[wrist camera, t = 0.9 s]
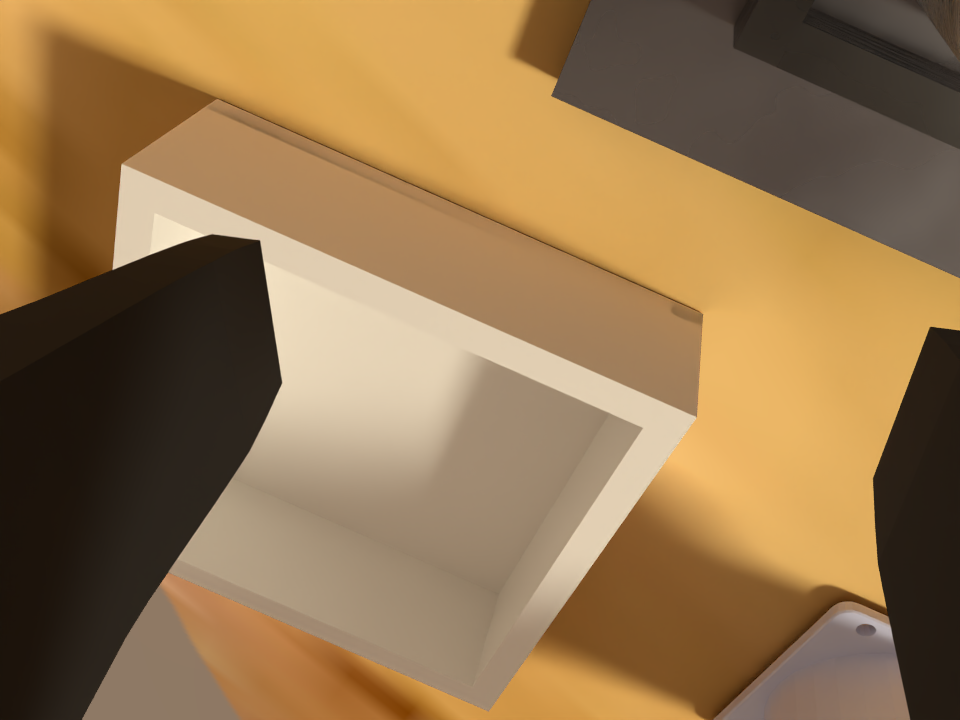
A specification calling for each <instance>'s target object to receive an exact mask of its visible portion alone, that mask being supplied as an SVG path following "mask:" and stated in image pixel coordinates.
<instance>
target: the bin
mask: <svg viewBox="0 0 960 720" xmlns="http://www.w3.org/2000/svg"><path fill="white" fill-rule="evenodd" d="M211 234H215V235H223V236H231V237H238V238H246V239H254V240H260V242H261V249H262V255H263V262H264V268H265V274H266V281H267V287H268V294H269V300H270V307H271V313H272V320H273V326H274V332H275V339H276V345H277V352H278V358H279V365H280V371H281V377H282V385H281V387H280V389H279V392H278V394H277V396H276V398H275V400H274V402H273V405H272V407H271V409H270V411H269V413H268V416H267V418H266V420H265V422H264V424H263V426H262V428H261V430H260V432H259V434H258V436H257V438H256V440H255V442H254V444H253V446H252V448H251V450H250V452H249V453H248V455H247V456H246V458H245V459H244V461H243V462H242V464H241V466H240V467H239V469H238V470H237V472H236V473H235V475H234V476H233V478H232V479H231V481H230V482H229V484H228V485H227V487H226V488H225V490H224V491H223V493H222V494H221V496H220V497H219V499H218V500H217V502H216V503H215V505H214V506H213V507H212V509H211V510H210V512H209V513H208V515H207V516H206V518H205V519H204V521H203V522H202V524H201V525H200V526H199V528H198V529H197V531H196V532H195V534H194V535H193V537H192V538H191V540H190V541H189V542H188V544H187V545H186V547H185V548H184V550H183V551H182V553H181V554H180V556H179V557H178V559H177V560H176V561H175V563H174V564H173V566H172V567H171V569H170V570H169V572H168V573H171V574H173V575H175V576H178V577H180V578H182V579H184V580H187V581H189V582H191V583H194V584H196V585H198V586H201V587H203V588H205V589H208V590H210V591H212V592H214V593H217V594H219V595H221V596H224V597H226V598H228V599H231V600H233V601H235V602H238V603H240V604H242V605H244V606H247V607H249V608H251V609H254V610H256V611H258V612H261V613H263V614H265V615H267V616H270V617H272V618H274V619H277V620H279V621H281V622H284V623H286V624H288V625H291V626H293V627H295V628H297V629H300V630H302V631H304V632H307V633H309V634H311V635H314V636H316V637H318V638H321V639H323V640H325V641H327V642H330V643H332V644H334V645H337V646H339V647H341V648H344V649H346V650H348V651H351V652H353V653H355V654H357V655H360V656H362V657H364V658H367V659H369V660H371V661H374V662H376V663H378V664H380V665H383V666H385V667H387V668H390V669H392V670H394V671H397V672H399V673H401V674H404V675H406V676H408V677H410V678H413V679H415V680H417V681H420V682H422V683H424V684H427V685H429V686H431V687H434V688H436V689H438V690H440V691H443V692H445V693H447V694H450V695H452V696H454V697H457V698H459V699H461V700H464V701H466V702H468V703H470V704H473V705H475V706H477V707H480V708H482V709H484V710H487V711H489V710H490V709H491V708H492V706H493V705H494V703H495V702H496V701H497V699H498V698H499V696H500V695H501V693H502V692H503V691H504V689H505V688H506V686H507V685H508V684H509V682H510V681H511V679H512V678H513V676H514V675H515V674H516V672H517V671H518V669H519V668H520V667H521V665H522V664H523V662H524V661H525V660H526V658H527V657H528V655H529V654H530V652H531V651H532V650H533V648H534V647H535V645H536V644H537V643H538V641H539V640H540V638H541V637H542V635H543V634H544V633H545V631H546V630H547V628H548V627H549V626H550V624H551V623H552V621H553V620H554V618H555V617H556V616H557V614H558V613H559V611H560V610H561V609H562V607H563V606H564V604H565V603H566V602H567V600H568V599H569V597H570V596H571V594H572V593H573V592H574V590H575V589H576V587H577V586H578V585H579V583H580V582H581V580H582V579H583V577H584V576H585V575H586V573H587V572H588V570H589V569H590V568H591V566H592V565H593V563H594V562H595V561H596V559H597V558H598V556H599V555H600V553H601V552H602V551H603V549H604V548H605V546H606V545H607V544H608V542H609V541H610V539H611V538H612V536H613V535H614V534H615V532H616V531H617V529H618V528H619V527H620V525H621V524H622V522H623V521H624V520H625V518H626V517H627V515H628V514H629V512H630V511H631V510H632V508H633V507H634V505H635V504H636V503H637V501H638V500H639V498H640V497H641V495H642V494H643V493H644V491H645V490H646V488H647V487H648V486H649V484H650V483H651V481H652V480H653V479H654V477H655V476H656V474H657V473H658V471H659V470H660V469H661V467H662V466H663V464H664V463H665V462H666V460H667V459H668V457H669V456H670V454H671V453H672V452H673V450H674V449H675V447H676V446H677V445H678V443H679V442H680V440H681V439H682V437H683V436H684V435H685V433H686V432H687V430H688V429H689V428H690V426H691V425H692V423H693V422H694V421H695V419H696V418H697V405H698V388H699V372H700V355H701V338H702V321H703V314H702V313H700V312H698V311H695V310H693V309H691V308H689V307H686V306H684V305H682V304H680V303H677V302H675V301H673V300H671V299H668V298H666V297H664V296H662V295H659V294H657V293H655V292H653V291H650V290H648V289H646V288H644V287H641V286H639V285H637V284H634V283H632V282H630V281H628V280H625V279H623V278H621V277H619V276H616V275H614V274H612V273H610V272H607V271H605V270H603V269H601V268H598V267H596V266H594V265H592V264H589V263H587V262H585V261H583V260H580V259H578V258H576V257H574V256H571V255H569V254H567V253H564V252H562V251H560V250H558V249H555V248H553V247H551V246H549V245H546V244H544V243H542V242H540V241H537V240H535V239H533V238H531V237H528V236H526V235H524V234H522V233H519V232H517V231H515V230H513V229H510V228H508V227H506V226H504V225H501V224H499V223H497V222H494V221H492V220H490V219H488V218H485V217H483V216H481V215H479V214H476V213H474V212H472V211H470V210H467V209H465V208H463V207H461V206H458V205H456V204H454V203H452V202H449V201H447V200H445V199H443V198H440V197H438V196H436V195H434V194H431V193H429V192H427V191H424V190H422V189H420V188H418V187H415V186H413V185H411V184H409V183H406V182H404V181H402V180H400V179H397V178H395V177H393V176H391V175H388V174H386V173H384V172H382V171H379V170H377V169H375V168H373V167H370V166H368V165H366V164H364V163H361V162H359V161H357V160H354V159H352V158H350V157H348V156H345V155H343V154H341V153H339V152H336V151H334V150H332V149H330V148H327V147H325V146H323V145H321V144H318V143H316V142H314V141H312V140H309V139H307V138H305V137H303V136H300V135H298V134H296V133H294V132H291V131H289V130H287V129H284V128H282V127H280V126H278V125H275V124H273V123H271V122H269V121H266V120H264V119H262V118H260V117H257V116H255V115H253V114H251V113H248V112H246V111H244V110H242V109H239V108H237V107H235V106H233V105H230V104H228V103H226V102H224V101H221V100H219V99H216V100H214V101H213V102H212V103H210V104H209V105H207V106H206V107H204V108H203V109H201V110H200V111H198V112H197V113H195V114H194V115H192V116H191V117H190V118H188V119H187V120H185V121H184V122H182V123H181V124H179V125H178V126H176V127H175V128H173V129H172V130H170V131H169V132H167V133H166V134H165V135H163V136H162V137H160V138H159V139H157V140H156V141H154V142H153V143H151V144H150V145H148V146H147V147H145V148H144V149H143V150H141V151H140V152H138V153H137V154H135V155H134V156H132V157H131V158H129V159H128V160H126V161H125V162H123V163H122V165H121V177H120V189H119V200H118V212H117V224H116V236H115V248H114V260H113V270H114V269H116V268H119V267H121V266H123V265H126V264H128V263H131V262H133V261H136V260H138V259H141V258H143V257H146V256H148V255H151V254H153V253H156V252H159V251H161V250H164V249H167V248H169V247H172V246H175V245H178V244H180V243H183V242H186V241H189V240H192V239H196V238H199V237H203V236H207V235H211Z"/></svg>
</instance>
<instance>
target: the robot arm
mask: <svg viewBox="0 0 960 720" xmlns="http://www.w3.org/2000/svg"><path fill="white" fill-rule="evenodd" d="M281 385H282V377H281V371H280V365H279V358H278V352H277V345H276V339H275V332H274V326H273V320H272V313H271V307H270V300H269V294H268V287H267V281H266V274H265V268H264V262H263V255H262V249H261V242H260V240H254V239H246V238H238V237H231V236H223V235H215V234H211V235H207V236H203V237H199V238H196V239H192V240H189V241H186V242H183V243H180V244H178V245H175V246H172V247H169V248H167V249H164V250H161V251H159V252H156V253H153V254H151V255H148V256H146V257H143V258H141V259H138V260H136V261H133V262H131V263H128V264H126V265H123V266H121V267H119V268H116V269H114V270H111V271H109V272H106V273H104V274H101V275H99V276H97V277H94V278H92V279H89V280H87V281H84V282H82V283H79V284H77V285H75V286H72V287H70V288H67V289H65V290H62V291H60V292H57V293H55V294H53V295H50V296H48V297H45V298H43V299H40V300H38V301H35V302H32V303H30V304H27V305H24V306H22V307H19V308H16V309H14V310H11V311H8V312H6V313H3V314H0V720H82V718H83V716H84V714H85V712H86V711H87V709H88V707H89V705H90V703H91V701H92V699H93V698H94V696H95V694H96V692H97V690H98V688H99V686H100V684H101V683H102V681H103V679H104V677H105V675H106V673H107V672H108V670H109V668H110V666H111V664H112V662H113V660H114V659H115V657H116V655H117V653H118V651H119V649H120V647H121V646H122V644H123V642H124V640H125V638H126V636H127V635H128V633H129V632H130V630H131V628H132V626H133V625H134V623H135V622H136V620H137V619H138V617H139V615H140V614H141V612H142V610H143V609H144V607H145V606H146V604H147V603H148V601H149V599H150V598H151V597H152V595H153V593H154V592H155V591H156V589H157V588H158V586H159V585H160V583H161V582H162V580H163V579H164V578H165V576H166V575H167V573H168V572H169V570H170V569H171V567H172V566H173V564H174V563H175V561H176V560H177V559H178V557H179V556H180V554H181V553H182V551H183V550H184V548H185V547H186V545H187V544H188V542H189V541H190V540H191V538H192V537H193V535H194V534H195V532H196V531H197V529H198V528H199V526H200V525H201V524H202V522H203V521H204V519H205V518H206V516H207V515H208V513H209V512H210V510H211V509H212V507H213V506H214V505H215V503H216V502H217V500H218V499H219V497H220V496H221V494H222V493H223V491H224V490H225V488H226V487H227V485H228V484H229V482H230V481H231V479H232V478H233V476H234V475H235V473H236V472H237V470H238V469H239V467H240V466H241V464H242V462H243V461H244V459H245V458H246V456H247V455H248V453H249V452H250V450H251V448H252V446H253V444H254V442H255V440H256V438H257V436H258V434H259V432H260V430H261V428H262V426H263V424H264V422H265V420H266V418H267V416H268V413H269V411H270V409H271V407H272V405H273V402H274V400H275V398H276V396H277V394H278V392H279V389H280V387H281ZM873 488H874V510H875V529H876V543H877V557H878V566H879V571H880V577H881V582H882V587H883V592H884V597H885V602H886V607H887V612H888V616H886V615H884V614H881V613H879V612H877V611H875V610H872V609H870V608H868V607H865V606H863V605H861V604H858V603H855V602H849V601H844V602H840V603H837V604H836V605H834V606H833V607H832V608H830V609H829V610H828V611H827V612H826V613H825V614H824V615H823V616H822V617H821V618H820V619H819V620H818V621H817V622H816V623H815V624H814V625H813V626H811V627H810V628H809V629H808V630H807V631H806V632H805V633H804V634H803V635H802V636H801V637H800V638H799V639H798V640H797V641H796V642H795V643H793V644H792V645H791V646H790V647H789V648H788V649H787V650H786V651H785V652H784V653H783V654H782V655H781V656H780V657H779V658H778V659H777V660H775V661H774V662H773V663H772V664H771V665H770V666H769V667H768V668H767V669H766V670H765V671H764V672H763V673H762V674H761V675H760V676H759V677H758V678H756V679H755V680H754V681H753V682H752V683H751V684H750V685H749V686H748V687H747V688H746V689H745V690H744V691H743V692H742V693H741V694H740V695H738V696H737V697H736V698H735V699H734V700H733V701H732V702H731V703H730V704H729V705H728V706H727V707H726V708H725V709H724V710H723V711H722V712H720V713H719V714H718V715H717V716H716V717H715V718H714V719H713V720H960V331H959V330H951V329H943V328H936V327H930V329H929V331H928V334H927V337H926V339H925V342H924V345H923V347H922V350H921V352H920V355H919V358H918V360H917V363H916V366H915V368H914V371H913V374H912V376H911V379H910V382H909V384H908V387H907V390H906V392H905V395H904V398H903V400H902V403H901V406H900V408H899V411H898V414H897V416H896V419H895V422H894V424H893V427H892V430H891V432H890V435H889V438H888V440H887V443H886V445H885V448H884V451H883V453H882V456H881V459H880V461H879V464H878V467H877V469H876V472H875V475H874V477H873ZM861 624H869V625H861Z"/></svg>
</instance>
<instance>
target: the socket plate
mask: <svg viewBox="0 0 960 720" xmlns="http://www.w3.org/2000/svg"><path fill="white" fill-rule="evenodd" d="M552 97H555V98H557V99H559V100H561V101H564V102H566V103H568V104H570V105H573V106H575V107H577V108H579V109H582V110H584V111H586V112H588V113H591V114H593V115H595V116H597V117H600V118H602V119H604V120H606V121H608V122H611V123H613V124H615V125H617V126H620V127H622V128H624V129H626V130H629V131H631V132H633V133H635V134H638V135H640V136H642V137H644V138H647V139H649V140H651V141H653V142H656V143H658V144H660V145H662V146H665V147H667V148H669V149H671V150H674V151H676V152H678V153H680V154H683V155H685V156H687V157H689V158H692V159H694V160H696V161H698V162H700V163H703V164H705V165H707V166H709V167H712V168H714V169H716V170H718V171H721V172H723V173H725V174H727V175H730V176H732V177H734V178H736V179H739V180H741V181H743V182H745V183H748V184H750V185H752V186H754V187H757V188H759V189H761V190H763V191H766V192H768V193H770V194H772V195H775V196H777V197H779V198H781V199H783V200H786V201H788V202H790V203H792V204H795V205H797V206H799V207H801V208H804V209H806V210H808V211H810V212H813V213H815V214H817V215H819V216H822V217H824V218H826V219H828V220H831V221H833V222H835V223H837V224H840V225H842V226H844V227H846V228H849V229H851V230H853V231H855V232H858V233H860V234H862V235H864V236H867V237H869V238H871V239H873V240H875V241H878V242H880V243H882V244H884V245H887V246H889V247H891V248H893V249H896V250H898V251H900V252H902V253H905V254H907V255H909V256H911V257H914V258H916V259H918V260H920V261H923V262H925V263H927V264H929V265H932V266H934V267H936V268H938V269H941V270H943V271H945V272H947V273H950V274H952V275H954V276H956V277H959V278H960V62H959V61H958V59H957V58H956V56H955V55H954V54H953V52H952V51H951V49H950V48H949V46H948V45H947V44H946V42H945V41H944V39H943V38H942V36H941V35H940V34H939V32H938V31H937V29H936V28H935V26H934V25H933V24H932V22H931V21H930V19H929V18H928V17H927V15H926V14H925V12H924V11H923V9H922V8H921V7H920V5H919V4H918V2H917V1H916V0H591V2H590V4H589V7H588V9H587V11H586V14H585V16H584V19H583V21H582V23H581V26H580V28H579V31H578V33H577V35H576V38H575V40H574V43H573V45H572V47H571V50H570V52H569V55H568V57H567V59H566V62H565V64H564V67H563V69H562V72H561V74H560V76H559V79H558V81H557V84H556V86H555V88H554V91H553V93H552Z"/></svg>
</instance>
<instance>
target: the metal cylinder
mask: <svg viewBox="0 0 960 720" xmlns="http://www.w3.org/2000/svg"><path fill="white" fill-rule="evenodd" d="M916 1H917V2H918V4H919V5H920V7H921V8H922V9H923V11H924V12H925V14H926V15H927V17H928V18H929V19H930V21H931V22H932V24H933V25H934V26H935V28H936V29H937V31H938V32H939V34H940V35H941V36H942V38H943V39H944V41H945V42H946V44H947V45H948V46H949V48H950V49H951V51H952V52H953V54H954V55H955V56H956V58H957V59H958V61H959V62H960V0H916Z"/></svg>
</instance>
